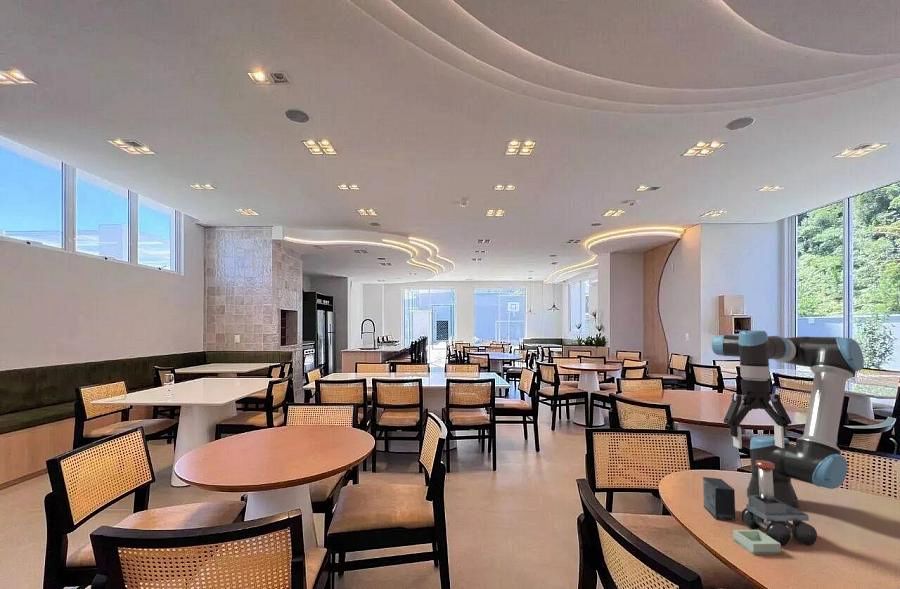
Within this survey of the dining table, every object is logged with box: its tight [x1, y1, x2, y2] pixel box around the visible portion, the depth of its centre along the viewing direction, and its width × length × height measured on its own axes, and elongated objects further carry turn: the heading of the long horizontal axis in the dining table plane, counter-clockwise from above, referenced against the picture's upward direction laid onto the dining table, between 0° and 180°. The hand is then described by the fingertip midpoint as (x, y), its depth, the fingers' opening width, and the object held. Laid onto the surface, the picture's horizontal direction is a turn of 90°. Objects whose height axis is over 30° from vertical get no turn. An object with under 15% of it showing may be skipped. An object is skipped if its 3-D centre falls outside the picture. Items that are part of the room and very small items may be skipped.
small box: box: [702, 476, 737, 522], centre depth 143 cm, size 11×6×10 cm, turn 168°
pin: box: [755, 460, 775, 503], centre depth 129 cm, size 5×5×14 cm
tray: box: [732, 529, 782, 556], centre depth 121 cm, size 8×8×3 cm
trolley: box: [740, 495, 818, 547], centre depth 128 cm, size 14×12×11 cm
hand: (758, 447), depth 130 cm, fingers open, 13 cm apart
